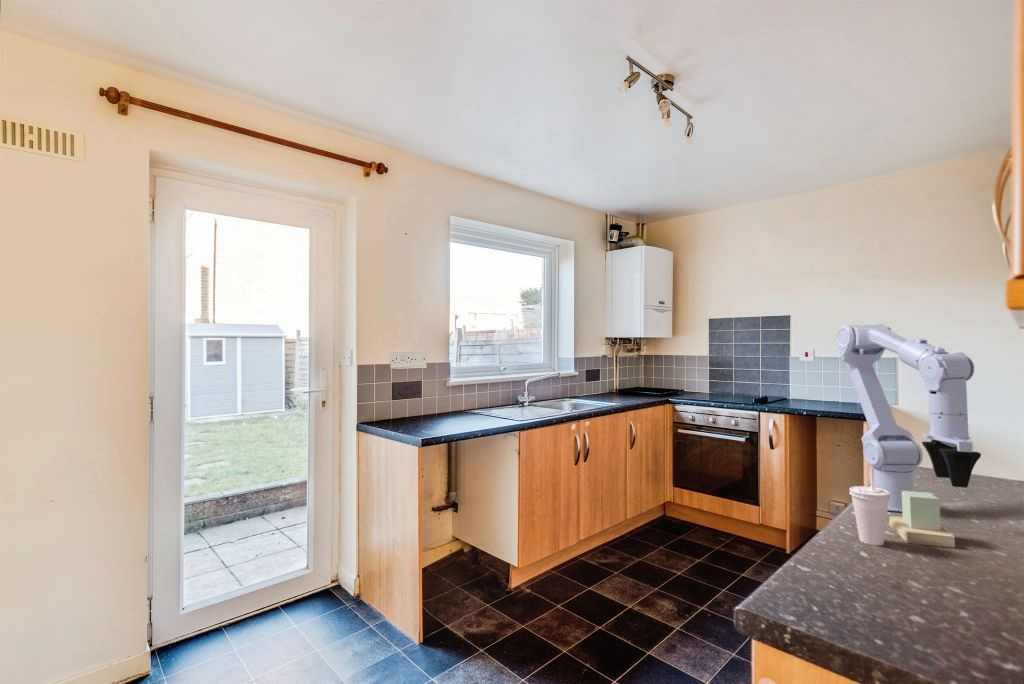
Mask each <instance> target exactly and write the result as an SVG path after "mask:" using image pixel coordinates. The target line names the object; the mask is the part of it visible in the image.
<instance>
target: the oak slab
mask: <svg viewBox="0 0 1024 684" xmlns="http://www.w3.org/2000/svg"><path fill="white" fill-rule="evenodd" d="M888 518H889V519H888V522H889V523H888V525H889V526H890V528H892V530H893V531H895V533H897V534H898V535H899V537H901V538H902V539H903V540H904V541H905V542H906V543H907V544H915V545H925V546H935V547H944V548H955V547H956V544H955V543H956V542H955V536H954V535H952V534H951V533H950V532H949V531H947V530H946V529H945V528H943V527H942V526H941V531H936V530H925V529H915V528H911V527H909V526H908V525H907V524H906V523H905V522H904V521H903V516H895V515H888Z"/></svg>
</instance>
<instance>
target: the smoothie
mask: <svg viewBox="0 0 1024 684" xmlns="http://www.w3.org/2000/svg"><path fill="white" fill-rule="evenodd" d="M869 478H870V486H865V485H864V486H863V485H856V486H851V487H849V495H850V496H851V500H852V505H853V511H854V516H855V522H856V527H857V533H858V537H859V538H858V539H859V541H860V542H861V543H863V542H864V543H863V544H866V543H867V544H866V545H871V546H877V547H878V546H884V544H885V536H886V526H887V517H888V511H887V510H888V500H889V499H891V497H890V492H888V491H886V490H883V489H879V488H874V467H871V466H870V467H869Z"/></svg>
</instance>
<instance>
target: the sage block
mask: <svg viewBox="0 0 1024 684" xmlns="http://www.w3.org/2000/svg"><path fill="white" fill-rule="evenodd" d="M940 504H941V503H940V498H938V497H937V496H935V495H934V494H933V493H931V492H926V491H924V492H923V491H915V490H914V491H902V512H901V513H902V517H903V521H904V522H905V523H906V524H907V525H908V526H909V527H911V528H915V529H925V530H936V531H941V527H942V526H941V525H942V524H941V505H940Z"/></svg>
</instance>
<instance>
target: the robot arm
mask: <svg viewBox="0 0 1024 684" xmlns="http://www.w3.org/2000/svg"><path fill="white" fill-rule="evenodd" d="M835 345H836V347H837V350H838V352H839V355H840V358H841V360H842V361H843V362H845V367H846V370H847V371H848V374H849V377H850V380H851V382H852V385H853V388H854V390H855V393H856V396H857V399H858V402H859V404H860V407H861V408H862V411H863V415H864V417H865V420H866V422H867V425H868V428H869V430H867V431H866V432H865V433H864V434H863V435H862V437H861V442H862V447H863V448H862V450H863V451H862V453H863V456H864V458H865V461H866V462H867V463H868V465H869V466H870V467H873V468H874V488H879V489H883V490H886V491H888V492H890V497H891V499H889V500H888V510H887V512H898V511H899V513H903V512H902V491H914V492H915V488H914V483H915V481H914V471H917V469H918V468H917V467H919V466H920V465H921V464H922V462H923V458H924V455H923V454H924V453H923V450H922V448H921V446H920V444H919V443H918V442H917V441H916V440H915V439H914V437H913V435H912V433H911V432H910V431H909V430H907V429H905V428H904V427H902V426H900V425H898V424H897V421H896V419H895V417H894V414H893V412H892V410H891V406H890V405H889V402H888V400H887V397H886V395H885V393H884V389H883V388H882V384H881V383H880V380H879V378H878V375H877V373H876V371H875V368H874V363H876V362H878V361H880V359H881V357H882V356H883V354H884V353H885V351H886V350H887V351H890V352H892V353H895V354H897V356H898V359H899V361H900V362H902V363H904V364H905V365H906V366H907V365H908V366H909V367H911V368H913V369H915V370H917V371H919V374H920V375H921V378H922V379H923V381H924V388H925V389H926V390H927V392H928V407H929V408H928V411H929V412H928V413H929V430H928V433H923V434H922V438H924V439H926V440H927V439H928V440H930V441H922V442H921V444H922V446H923V447H924V449H925V450H926V452H927V455H928V456H929V459H930V461H931V464H932V465H931V466H932V468H933V470H934V474H935V476H936V477H937V478H942V479H943V478H944V479H946V478H947V479H949V481H950V484H951V486H952V487H953V488H967V489H968V486H969V483H970V480H971V475H972V472H973V470H974V467H975V465H976V463H977V462H978V461H979V460H980V458H981V456H982V454H981V452H979V451H974V448H973V447H974V446H973V441H971V437H970V435H969V418H968V417H969V415H968V413H969V412H968V396H967V395H968V394H967V391H968V390H967V382H968V381H969V380H971V379H972V377H973V375H974V373H975V364H974V362H973V360H972V359H971V357H970V356H968V355H967V354H965V353H964V352H954V353H949V352H948V351H946V349H945V348H943V347H940V346H939V347H937V346H934V345H932V344H930V343H928V340H927V339H925V338H916V339H915V338H914V339H910V340H909V339H907V338H905V337H903V336H901V335H899V334H898V333H896V332H894V331H892V329H891V327H890V326H887V325H885V324H881V323H879V324H862V325H857V324H856V325H854V324H853V325H851V324H843V325H841V326H840V328H839V329H838V330H837V332H836V338H835Z"/></svg>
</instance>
